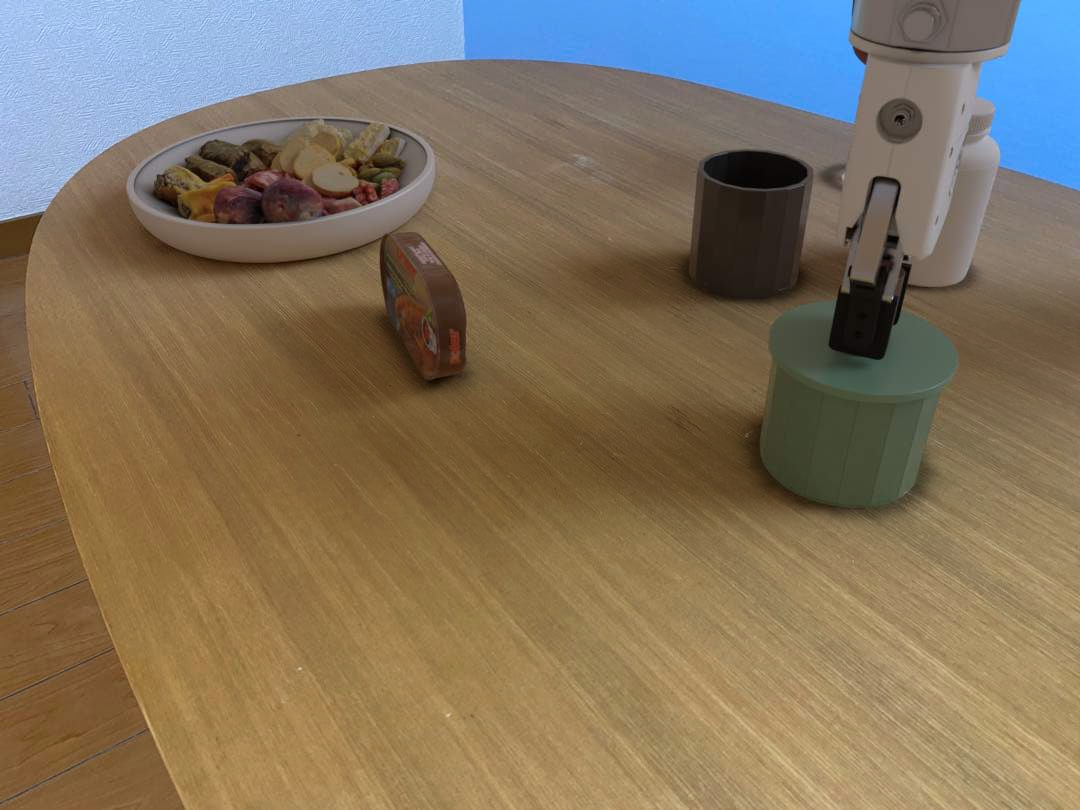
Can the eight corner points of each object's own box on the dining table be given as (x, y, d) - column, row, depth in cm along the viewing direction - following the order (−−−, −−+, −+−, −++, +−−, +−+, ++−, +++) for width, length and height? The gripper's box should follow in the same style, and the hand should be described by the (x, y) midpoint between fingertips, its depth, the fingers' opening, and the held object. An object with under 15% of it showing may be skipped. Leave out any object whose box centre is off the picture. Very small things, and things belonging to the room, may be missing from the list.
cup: (744, 244, 89) (757, 141, 83) (818, 283, 82) (838, 174, 77) (667, 270, 85) (675, 163, 79) (739, 313, 78) (753, 200, 73)
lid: (792, 302, 64) (806, 216, 60) (964, 338, 59) (990, 249, 56) (744, 383, 56) (756, 290, 52) (939, 432, 51) (967, 334, 48)
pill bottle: (902, 295, 80) (943, 122, 72) (857, 255, 87) (890, 91, 78) (985, 285, 82) (1036, 114, 73) (935, 246, 88) (976, 84, 79)
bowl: (142, 178, 105) (123, 107, 100) (406, 145, 112) (399, 78, 108) (135, 300, 81) (110, 216, 77) (469, 249, 89) (464, 169, 84)
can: (781, 403, 68) (799, 299, 63) (927, 440, 64) (957, 332, 59) (740, 483, 60) (756, 372, 55) (901, 530, 56) (933, 416, 52)
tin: (381, 310, 80) (369, 217, 75) (417, 302, 81) (408, 210, 76) (436, 402, 68) (427, 300, 63) (477, 392, 69) (471, 291, 64)
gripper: (998, 65, 38) (904, 425, 49) (1029, -14, 50) (948, 289, 61) (815, 45, 41) (763, 390, 52) (885, -24, 53) (832, 267, 64)
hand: (864, 332), depth 56 cm, fingers open, 3 cm apart
